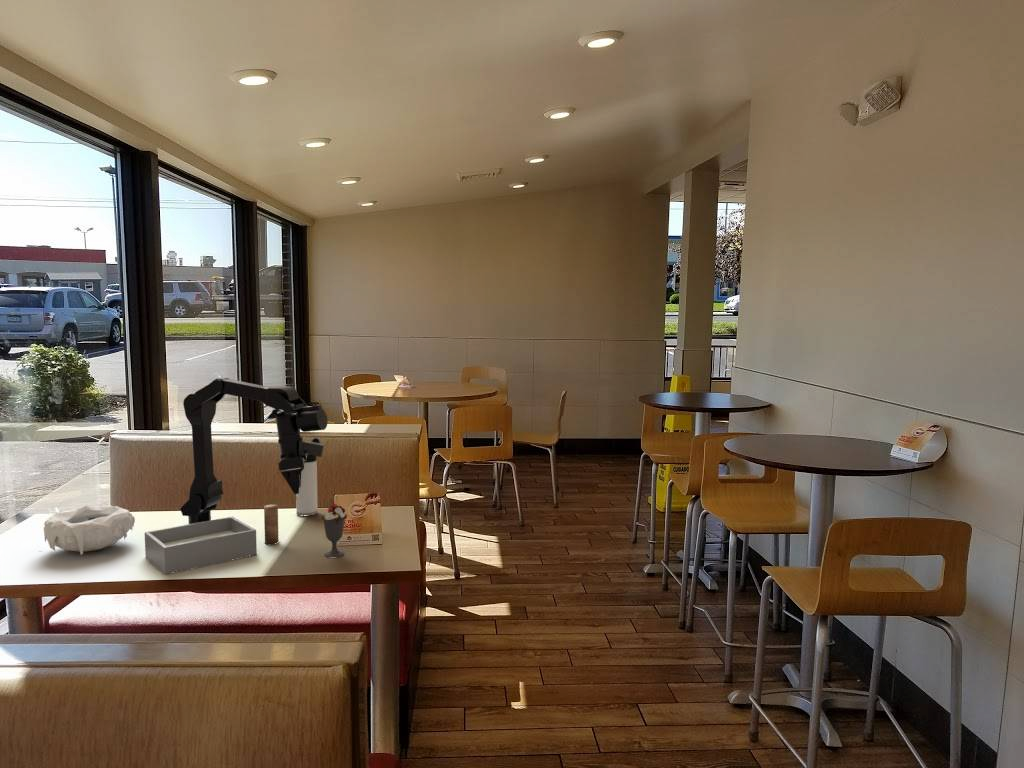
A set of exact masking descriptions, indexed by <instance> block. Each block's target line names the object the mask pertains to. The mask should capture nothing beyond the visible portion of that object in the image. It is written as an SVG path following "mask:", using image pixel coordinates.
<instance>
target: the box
mask: <svg viewBox="0 0 1024 768" xmlns="http://www.w3.org/2000/svg"><path fill="white" fill-rule="evenodd" d="M257 546H258V545H257V529H256V528H253V527H251V526H250V525H249V524H246V523H245V522H244V521H241V520H239V519H238V518H236V517H234V516H228V517H222V518H216V519H211V520H210V521H204V522H199V523H193V524H189V523H188V524H182V525H178V526H171V527H166V528H161V529H154V530H149V531H144V547H145V548H144V552H145V558H146V559H147V560H148V561H149V562H150V563H151V564H153V565H154V566H155V567H156V568H157V569H158V570H159V571H160V570H161V571H160V572H162V574H164V575H165V574H166V575H169V574H168V573H171V574H173V573H172V572H175V573H177V572H176V571H180V572H182V571H181V570H184V571H188V570H187V569H189V570H192V569H191V568H193V569H197V568H196V567H198V568H203V567H206V566H211V565H216V564H220V562H221V563H224V561H226V562H228V560H230V561H233V560H232V559H235V560H238V559H237V558H239V559H242V558H241V557H244V558H247V557H246V556H248V557H250V556H249V555H253V556H255V555H254V554H257V553H258V550H257V549H258V548H257ZM257 555H258V554H257ZM202 566H203V567H202Z"/></svg>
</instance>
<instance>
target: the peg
mask: <svg viewBox="0 0 1024 768" xmlns="http://www.w3.org/2000/svg"><path fill="white" fill-rule="evenodd" d="M263 511H264V512H263V513H264V514H263V515H264V516H263V517H264V520H263V521H264V544H265V543H266V544H265V545H267V544H273V545H276V544H275V543H277V542H278V541H280V540H279V506H278V504H266V505H264V506H263ZM278 543H279V542H278ZM278 543H277V544H278Z"/></svg>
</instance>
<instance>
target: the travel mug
mask: <svg viewBox="0 0 1024 768" xmlns="http://www.w3.org/2000/svg"><path fill="white" fill-rule="evenodd" d="M306 455H307V459H304V460H306V462H305V464H304V465H305V467H304V469H303V470H302V472H301V487H300V488H299V493H298V494H295V500H296V501H295V503H296V504H295V506H296V510H295V511H296V516H298V515H303V516H304V515H313V514H316V513H317V512H318V511H319V510H318V466H317V465H318V462H317V461H318V460H317V456H316V455H311V454H306ZM318 513H319V512H318ZM318 513H317V514H318ZM317 514H316V515H317ZM313 516H314V515H313Z"/></svg>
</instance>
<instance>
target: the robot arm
mask: <svg viewBox="0 0 1024 768" xmlns="http://www.w3.org/2000/svg"><path fill="white" fill-rule="evenodd" d="M226 395H229V396H233V397H239V398H244V399H249V400H252V401H258V402H261V403H262V404H263V405H264V406H266V407H269V408H270V409H271V408H272V411H271V412H270V414H268V416H267V419H268V420H274V419H275V423H276V429H277V436H278V439H277V441H278V445H279V450H280V454H279V455H280V460H279V462H278V464H277V465H278V471H279V472H280V474H281V475H282V476H283V478H284V480H285V481H286V483H287V484H288V486H289V487H290V490H291V491H292V492H293V494H294V495H296V494H298V493H299V488H300V487H301V472H302V470H303V469H304V467H305V465H304V464H305V462H306V460H304V459H307V455H306V454H311V455H316V457H319V458H322V457H323V453H324V448H325V443H323V442H321V440H320V438H318V437H313V438H312V439H311V440H306V439H305V440H304V437H303V435H302V433H301V432H305V433H307V432H317V431H325V430H326V429H327V427H328V422H329V420H328V415H327V413H326V411H325V409H323V407H322V404H316V405H314V404H313V405H311V406H309V405H308V404H307V403H306V402H305V401H304V400H303V398H301V397H300V395H299V392H298V391H297V389H296V388H295V387H293V386H289V385H288V386H287V385H277V386H266V385H260V384H255V383H252V382H247V381H246V382H245V381H241V380H235V379H231V378H229V377H218V378H215V379H214V380H212V381H211V382H210V383H208V384H207V385H205V386H203V387H201V388H200V389H198V390H197V391H196V392H194V393H190V394H187V396H186V397H184V399H183V402H182V404H183V411H184V416H185V417H186V419H187V421H188V422H189V424H190V426H191V437H192V438H191V439H192V453H193V455H192V456H193V473H194V475H193V476H194V478H193V480H192V482H191V485H190V487H189V493H188V500H187V501H185V503H184V504H183V505H182V506H181V507H180V512H181V515H182V516H183V517H188V524H193V523H199V522H204V521H210V520H212V518H211V515H212V513H211V512H212V510H216V509H217V506H218V503H220V502H221V500H222V495H224V491H223V480H218V479H217V478H216V476H215V473H214V471H215V470H214V458H213V457H214V455H213V440H212V439H213V437H212V423H213V420H214V417H215V415H216V411H217V403H219V402H220V401H221V400H222V399H224V398H225V396H226ZM281 410H282V411H281Z"/></svg>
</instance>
